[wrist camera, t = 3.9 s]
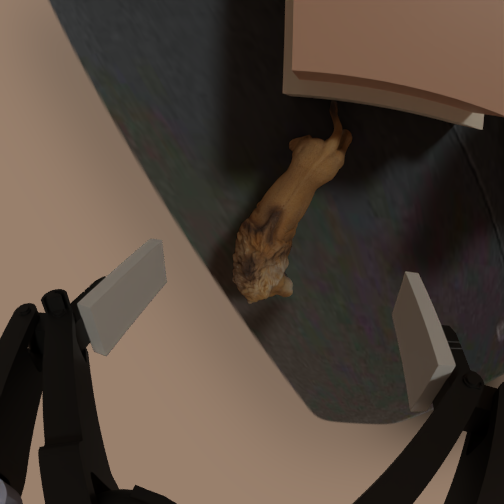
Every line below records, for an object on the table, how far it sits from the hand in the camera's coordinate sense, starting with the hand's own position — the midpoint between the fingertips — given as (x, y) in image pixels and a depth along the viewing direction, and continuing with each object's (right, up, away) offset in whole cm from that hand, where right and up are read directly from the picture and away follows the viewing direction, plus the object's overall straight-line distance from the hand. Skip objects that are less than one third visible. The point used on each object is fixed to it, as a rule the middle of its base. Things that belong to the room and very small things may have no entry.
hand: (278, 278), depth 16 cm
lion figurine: (+3, +7, +10) cm, 12 cm away
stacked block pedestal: (+9, +21, +1) cm, 22 cm away
